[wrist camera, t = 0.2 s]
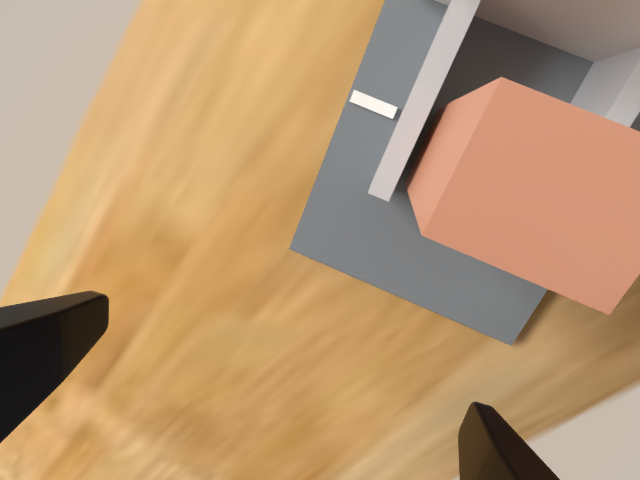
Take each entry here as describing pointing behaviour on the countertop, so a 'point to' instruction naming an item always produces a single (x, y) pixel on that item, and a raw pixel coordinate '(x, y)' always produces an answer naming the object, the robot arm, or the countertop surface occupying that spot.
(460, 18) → the test rig
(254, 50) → the countertop surface
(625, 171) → the plug
